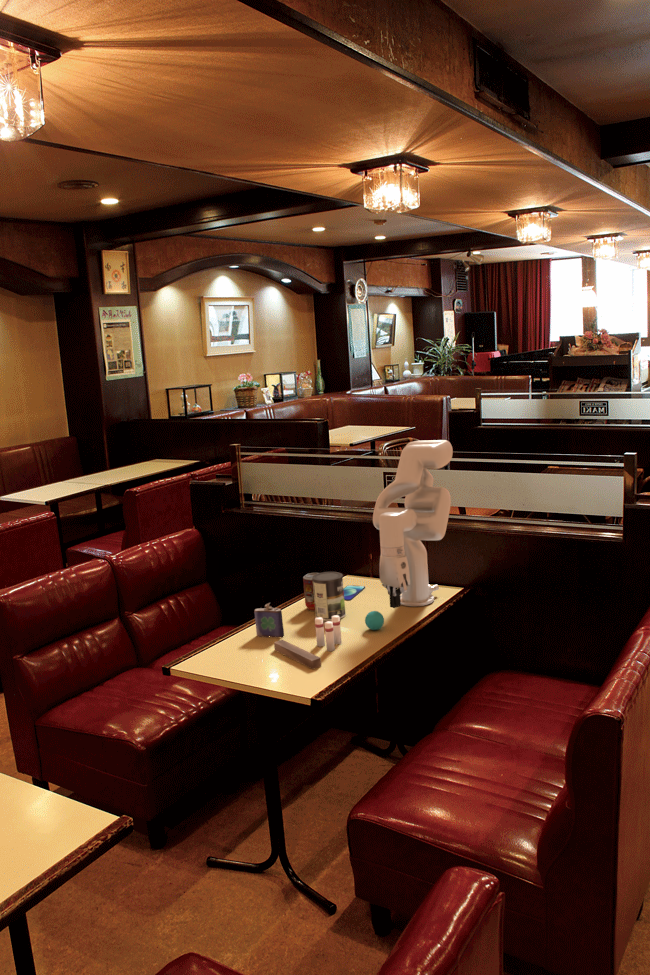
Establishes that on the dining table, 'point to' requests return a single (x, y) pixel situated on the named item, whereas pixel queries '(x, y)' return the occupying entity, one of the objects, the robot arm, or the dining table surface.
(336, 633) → the front pin
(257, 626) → the flask
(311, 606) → the soda can
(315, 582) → the coffee can
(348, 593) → the smartphone
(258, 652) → the dining table surface
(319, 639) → the back pin right
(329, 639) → the back pin left
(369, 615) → the ball
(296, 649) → the back wall
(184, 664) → the dining table surface
